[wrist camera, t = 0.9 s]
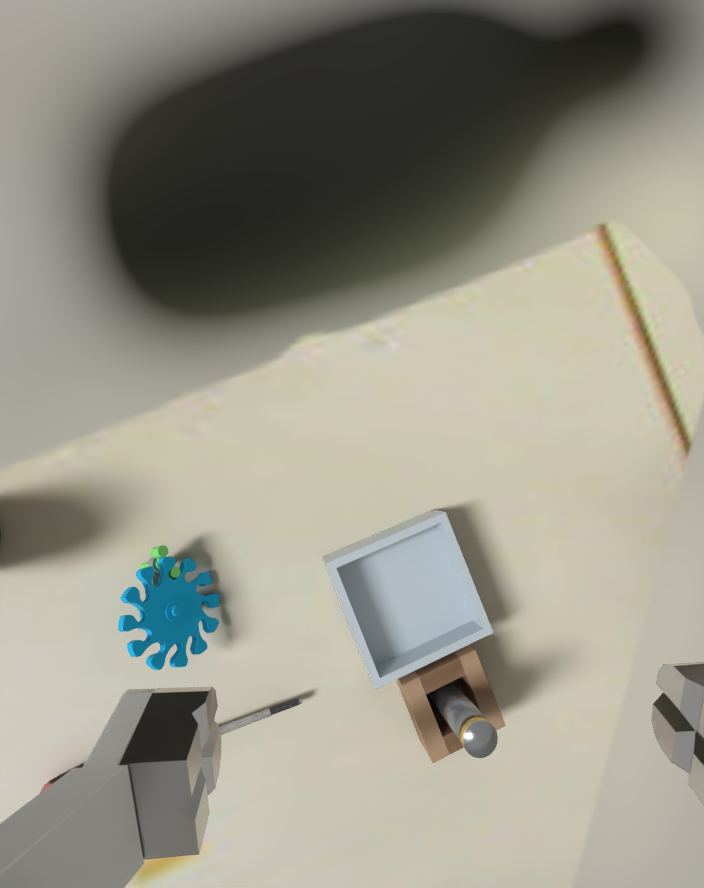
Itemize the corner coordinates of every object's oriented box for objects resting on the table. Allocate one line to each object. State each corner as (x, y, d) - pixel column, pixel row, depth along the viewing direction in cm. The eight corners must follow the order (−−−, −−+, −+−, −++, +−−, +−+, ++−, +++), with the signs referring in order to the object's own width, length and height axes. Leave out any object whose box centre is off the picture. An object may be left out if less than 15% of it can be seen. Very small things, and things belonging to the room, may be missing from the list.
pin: (457, 693, 54) (503, 748, 43) (432, 706, 54) (471, 764, 43) (447, 667, 54) (489, 714, 43) (421, 679, 54) (458, 730, 43)
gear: (230, 651, 49) (132, 687, 42) (194, 652, 53) (97, 685, 45) (215, 537, 51) (119, 551, 44) (181, 545, 55) (86, 559, 47)
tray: (478, 621, 55) (493, 632, 51) (368, 673, 53) (375, 689, 49) (433, 509, 55) (445, 511, 51) (322, 557, 53) (325, 563, 49)
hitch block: (487, 705, 54) (505, 725, 50) (419, 739, 53) (432, 763, 49) (459, 635, 54) (475, 649, 50) (391, 667, 53) (402, 685, 49)
